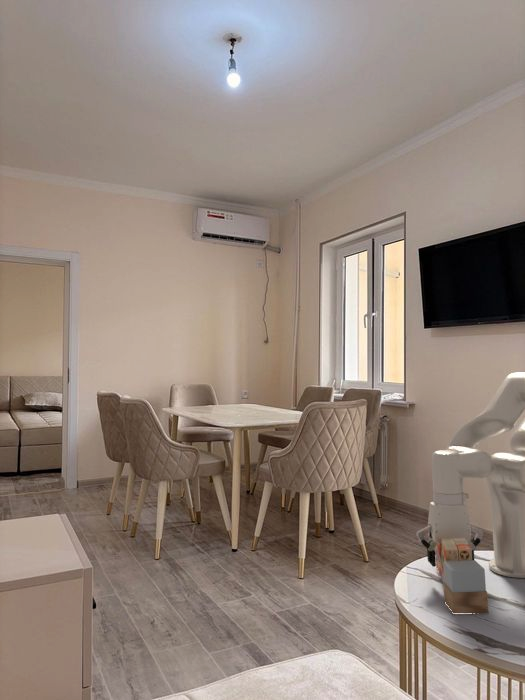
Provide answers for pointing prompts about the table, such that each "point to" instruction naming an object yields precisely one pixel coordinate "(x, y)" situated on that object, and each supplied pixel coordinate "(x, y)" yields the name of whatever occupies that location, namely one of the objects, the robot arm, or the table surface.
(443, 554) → the stack of blocks
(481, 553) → the table surface
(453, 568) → the tower top
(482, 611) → the tower bottom
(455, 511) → the robot arm
